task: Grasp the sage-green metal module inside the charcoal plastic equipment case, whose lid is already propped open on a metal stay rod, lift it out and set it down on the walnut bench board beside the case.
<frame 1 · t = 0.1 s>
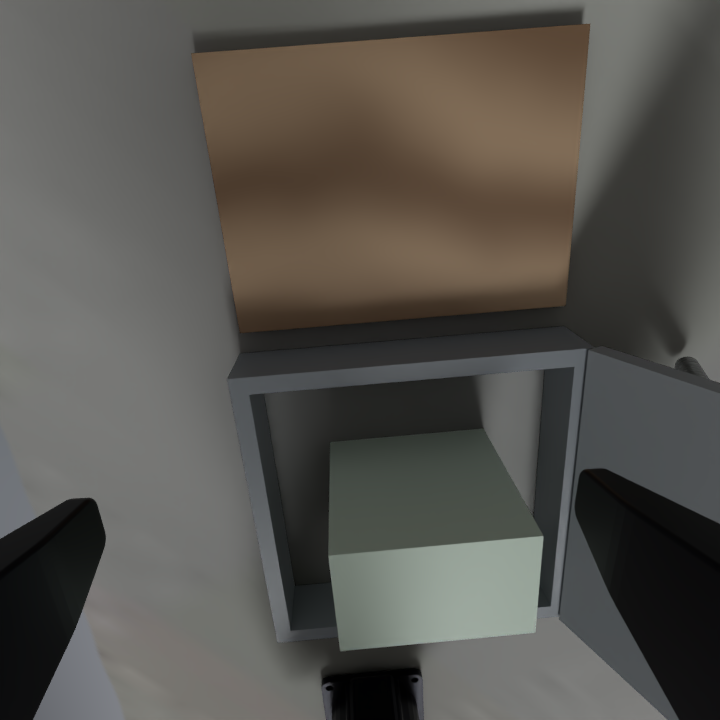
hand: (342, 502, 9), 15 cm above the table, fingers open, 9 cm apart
equipment case: (408, 476, 26), on the table
bench board: (396, 192, 21), on the table
module: (408, 474, 26), resting in equipment case
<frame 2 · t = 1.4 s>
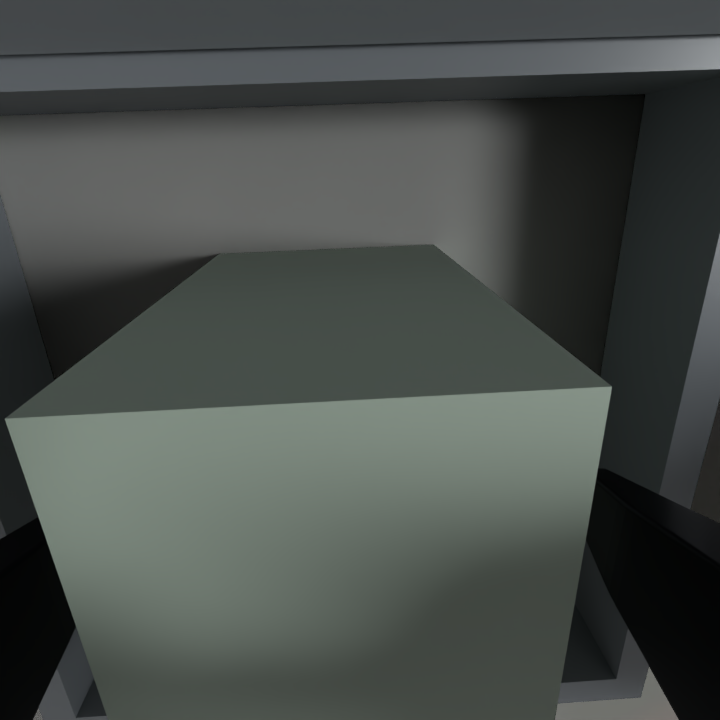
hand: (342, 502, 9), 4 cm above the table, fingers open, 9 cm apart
equipment case: (336, 403, 13), on the table
module: (336, 401, 13), resting in equipment case
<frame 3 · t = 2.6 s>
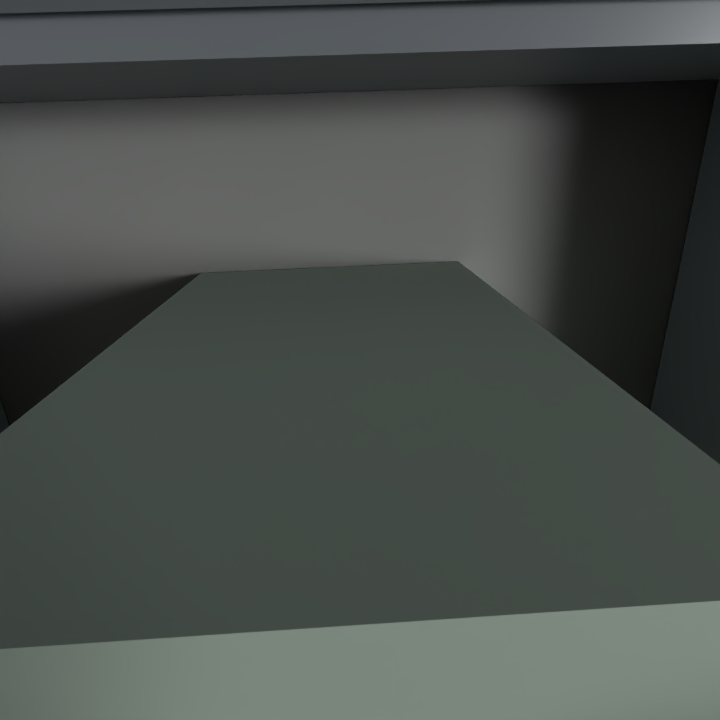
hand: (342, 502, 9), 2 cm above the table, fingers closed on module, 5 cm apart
equipment case: (340, 445, 11), on the table
module: (341, 445, 11), resting in equipment case, touching gripper
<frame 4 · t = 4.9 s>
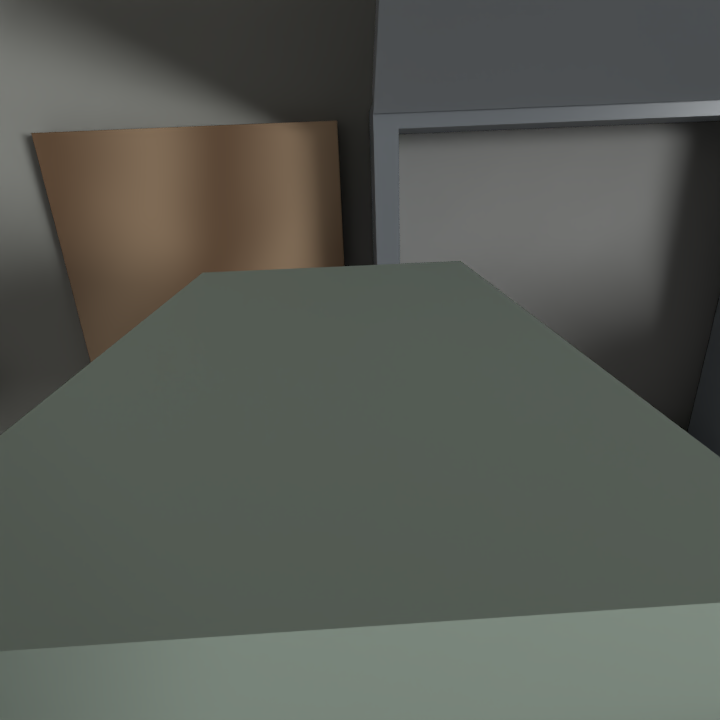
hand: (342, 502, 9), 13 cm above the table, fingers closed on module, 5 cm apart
equipment case: (556, 306, 21), on the table
bench board: (218, 321, 21), on the table
module: (342, 445, 11), point 11 cm above the table, touching gripper
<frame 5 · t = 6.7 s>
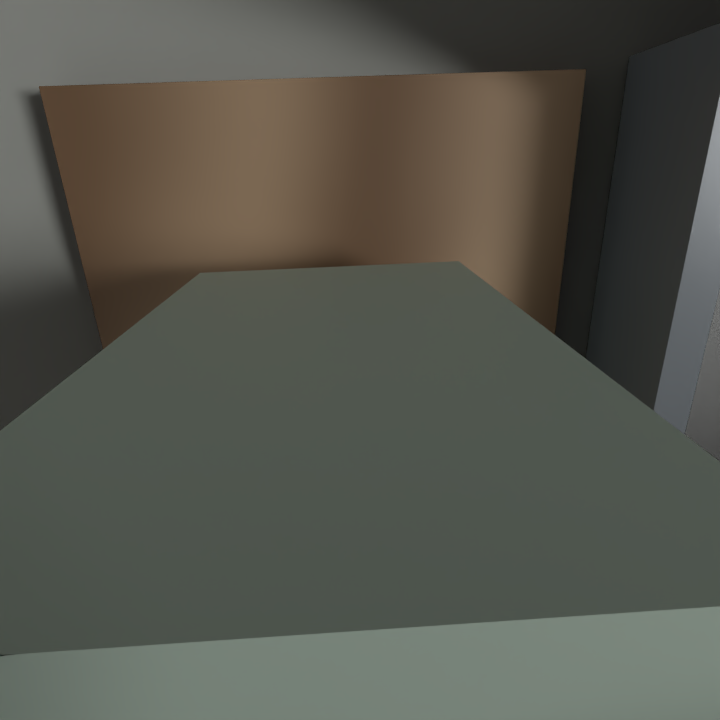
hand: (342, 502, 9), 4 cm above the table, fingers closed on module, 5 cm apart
bench board: (336, 399, 13), on the table
module: (340, 445, 11), point 2 cm above the table, touching gripper
when the fingers open (4 cm above the table, at t = 7.6 s): module drops 1 cm, resting on bench board.
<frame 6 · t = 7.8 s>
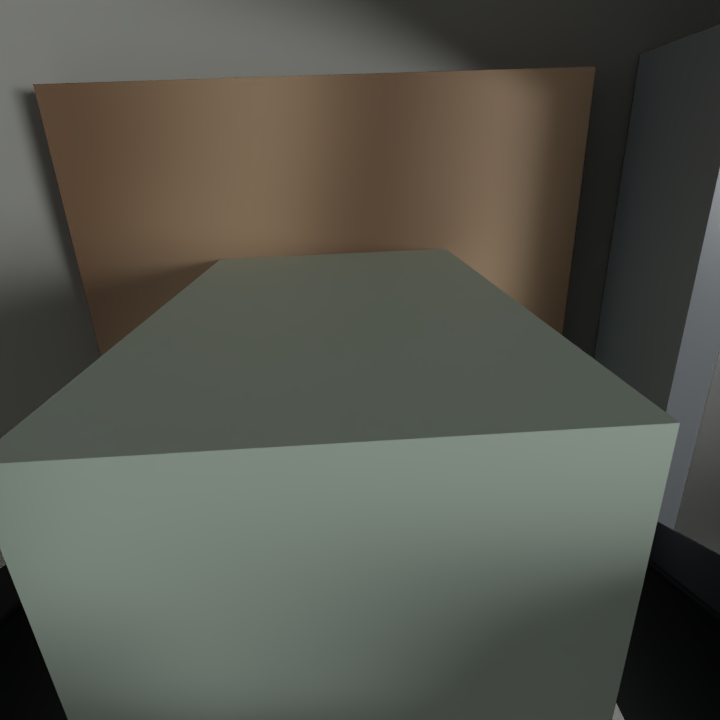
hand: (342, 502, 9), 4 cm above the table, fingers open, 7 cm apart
bench board: (338, 404, 13), on the table
module: (343, 413, 12), point 1 cm above the table, touching bench board
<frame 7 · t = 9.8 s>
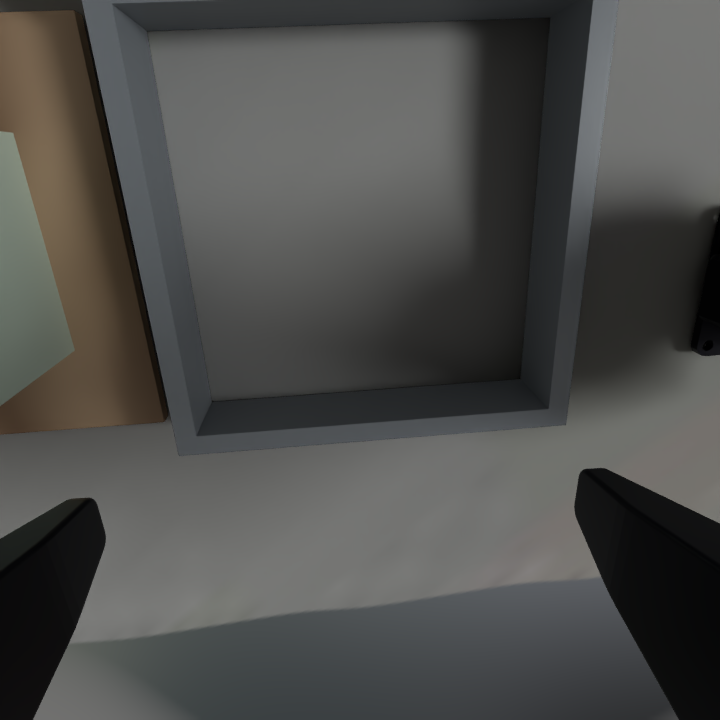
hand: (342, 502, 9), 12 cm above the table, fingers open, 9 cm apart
equipment case: (361, 231, 20), on the table
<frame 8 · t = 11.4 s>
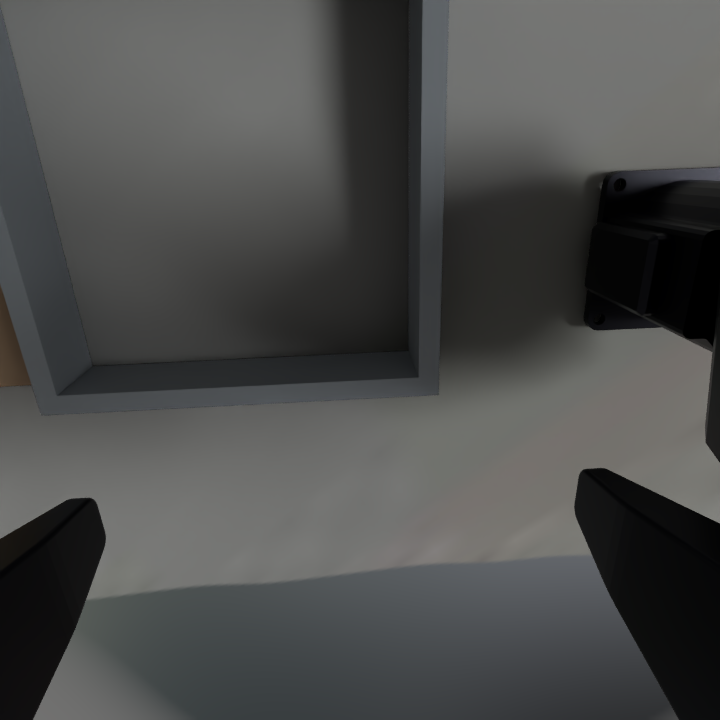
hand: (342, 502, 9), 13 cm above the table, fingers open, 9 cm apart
equipment case: (231, 192, 19), on the table
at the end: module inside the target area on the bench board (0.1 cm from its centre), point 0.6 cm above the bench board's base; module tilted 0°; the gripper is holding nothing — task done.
